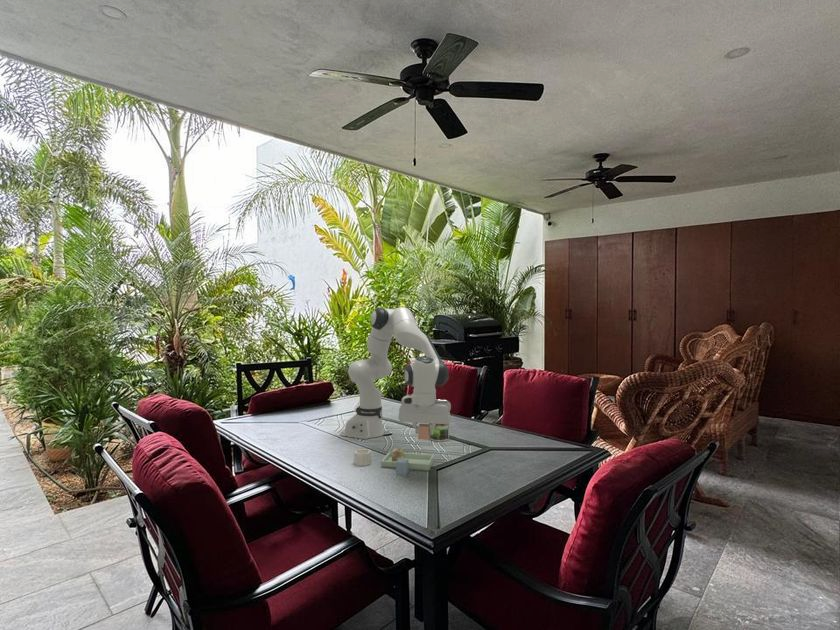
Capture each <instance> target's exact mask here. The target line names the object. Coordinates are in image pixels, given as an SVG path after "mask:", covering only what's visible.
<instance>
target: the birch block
mask: <svg viewBox="0 0 840 630" xmlns="http://www.w3.org/2000/svg"><path fill="white" fill-rule="evenodd" d="M391 452H392V461H395V462H397V461H398V459H404V453H405V452H404V448H396V447H395V448H393V450H391Z"/></svg>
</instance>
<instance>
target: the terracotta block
mask: <svg viewBox="0 0 840 630" xmlns="http://www.w3.org/2000/svg"><path fill="white" fill-rule="evenodd" d="M417 427H418V434H417V439H418V440H422V441H424V440H426V441H427V440H428V441H429V440H430V439H429V438H430V434H429V429H430V424H429V423H419V425H417Z"/></svg>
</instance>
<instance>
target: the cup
mask: <svg viewBox="0 0 840 630" xmlns="http://www.w3.org/2000/svg"><path fill="white" fill-rule="evenodd" d="M353 453H354V454H353V457H354V458H353V459H354V462H353V463H354V465H355V466H356V467H366V466H370V465H371V464H372V450H370V449H369V448H360V449H355V451H354V452H353Z"/></svg>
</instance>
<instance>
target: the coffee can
mask: <svg viewBox="0 0 840 630" xmlns="http://www.w3.org/2000/svg"><path fill="white" fill-rule="evenodd" d="M428 424H430V429H432V428H433V426H432V423H428ZM429 440H430V441H433V442H446V441H449V440H450V422H449V423H448V424H436V426H435V428H434V429H433V435H430V438H429Z"/></svg>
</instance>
